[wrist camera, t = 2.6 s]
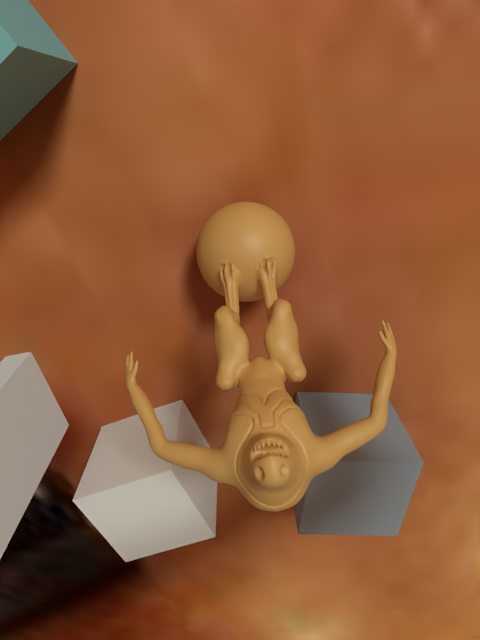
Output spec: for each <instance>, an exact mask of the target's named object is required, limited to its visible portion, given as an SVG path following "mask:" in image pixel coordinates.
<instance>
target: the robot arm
mask: <svg viewBox="0 0 480 640" xmlns="http://www.w3.org/2000/svg"><path fill="white" fill-rule="evenodd" d="M68 426H69V424H68V422H67V420H66V418H65V416H64V414H63V413H62V411H61V409H60V407H59V405H58V403H57V401H56V399H55V397H54V395H53V393H52V391H51V390H50V388H49V386H48V384H47V382H46V380H45V378H44V376H43V374H42V372H41V370H40V368H39V366H38V365H37V363H36V361H35V359H34V357H33V355H32V353H31V352H27V353H22V354H17V355H11V356H6V357H5V358H4V359H3V360H2V361H1V362H0V559H1V557H2V555H3V553H4V551H5V549H6V547H7V545H8V543H9V541H10V539H11V537H12V535H13V533H14V532H15V530H16V528H17V526H18V524H19V522H20V520H21V518H22V516H23V514H24V512H25V510H26V508H27V506H28V504H29V502H30V500H31V498H32V496H33V494H34V493H35V491H36V489H37V487H38V485H39V483H40V481H41V479H42V477H43V475H44V473H45V471H46V469H47V467H48V465H49V463H50V461H51V459H52V457H53V456H54V454H55V452H56V450H57V448H58V446H59V444H60V442H61V440H62V438H63V436H64V434H65V432H66V430H67V428H68Z"/></svg>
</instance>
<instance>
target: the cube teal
mask: <svg viewBox="0 0 480 640" xmlns="http://www.w3.org/2000/svg"><path fill="white" fill-rule="evenodd" d="M77 64H78V63H77V62H76V60H75V59H74V58H73V57H72V55H71V54H70V53H69V52H68V50H67V49H66V48H65V47H64V45H63V44H62V43H61V41H60V40H59V39H58V38H57V36H56V35H55V34H54V33H53V31H52V30H51V29H50V28H49V26H48V25H47V24H46V22H45V21H44V20H43V19H42V17H41V16H40V15H39V14H38V12H37V11H36V10H35V8H34V7H33V6H32V5H31V3H30V2H29V1H28V0H0V140H1V139H2V138H3V137H4V136H5V135H6V134H7V133H8V132H9V131H11V130H12V129H13V128H14V127H15V126H16V125H17V124H18V123H19V122H20V121H21V120H22V119H23V118H24V117H25V116H26V115H27V114H28V113H29V112H30V111H31V110H32V109H33V108H34V107H35V106H36V105H37V104H38V103H39V102H40V101H41V100H42V99H43V98H44V97H45V96H46V95H47V94H48V93H49V92H50V91H51V90H52V89H53V88H54V87H55V86H56V85H57V84H58V83H59V82H60V81H61V80H62V79H63V78H64V77H65V76H66V75H67V74H68V73H69V72H70V71H71V70H72V69H73V68H74V67H75V66H76V65H77Z"/></svg>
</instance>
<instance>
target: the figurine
mask: <svg viewBox="0 0 480 640" xmlns="http://www.w3.org/2000/svg"><path fill="white" fill-rule="evenodd" d="M196 257H197V263H198V267H199V270H200V272H201V274H202V276H203V278H204V280H205V281H206V282H207V284H208V285H209V286H210V287H211V288H212V289H213V290H214V291H216V292H217V293H218V294H220V295H222V296H223V297H225V302H226V306H221V307H220V308H219V309H218V310H217V311H216V312H215V315H214V320H215V327H214V345H215V350H216V354H217V361H218V367H217V374H216V379H215V383H216V386H217V387H218V388H219V389H220V390H223V391H229V390H231V389H234V388H236V387H240V395H239V399H238V401H237V403H236V406H235V410H234V411H233V413H232V414H231V416H230V419H229V420H228V424H227V430H226V437H225V441H224V443H223V445H222V446H221V447H220V448H208V447H204V446H199V445H194V444H189V443H184V442H177V441H169V440H167V439H166V438H165V435H164V431H163V428H162V426H161V424H160V422H159V421H158V419H157V417H156V415H155V412H154V409H153V407H152V405H151V403H150V401H149V399H148V397H147V396H146V394H145V393H144V392H143V390H142V389H141V388H140V387H139V386H138V385H137V383H136V374H137V370H138V361H136V362H135V365H134V362H133V352H131V353H130V356H129V355H127V357H126V367H125V381H126V387H127V390H128V392H129V394H130V397H131V400H132V404H133V406H134V408H135V410H136V412H137V414H138V415H139V417H140V419H141V421H142V423H143V425H144V427H145V430H146V433H147V437H148V440H149V444H150V447H151V449H152V451H153V452H154V453H155V454H156V455H157V456H158V457H159V458H161V459H163V460H165V461H167V462H169V463H172V464H175V465H178V466H180V467H183V468H187V469H191V470H195V471H198V472H200V473H202V474H204V475H205V476H207V477H208V478H210V479H212V480H213V481H216V482H219V483H223V484H228V485H232V486H234V487H236V488H237V489H238V490H239V491H240V493H241V494H242V495H243V496H244V498H245V499H246V500H247V501H248V502H249V503H250V504H251V505H253V506H254V507H256V508H258V509H261V510H264V511H273V512H277V511H282V510H285V509H288V508H290V507H292V506H294V505H295V504H297V503H298V502H299V501H300V500H301V499H302V497H303V496H304V494H305V492H306V490H307V488H308V486H309V484H310V482H311V480H312V479H313V478H314V477H315V476H317V475H318V474H321V473H323V472H325V471H327V470H329V469H331V468H332V467H333V466H334V465H336V464H337V462H338V461H339V460H340V459H341V458H342V457H344V456H345V455H346V454H348V453H350V452H352V451H354V450H356V449H358V448H359V447H361V446H363V445H364V444H366V443H367V442H369V441H370V440H372V439H373V438H375V437H376V436H377V435H379V434H380V433H381V432H382V431H383V429H384V428H385V426H386V423H387V419H388V399H389V394H390V390H391V386H392V382H393V379H394V374H395V362H396V356H397V350H396V343H395V339H394V336H393V333H392V330H391V327H390V325H389V324H388V323H386V324H385V322H384V321H383V320H382V321H381V323H382V326H383V332H384V335H383V334H382V332H381V331H380V330H379V336H380V339H381V341H382V343H383V344H384V346H385V355H384V357H383V359H382V361H381V363H380V365H379V368H378V371H377V375H376V379H375V386H374V393H373V397H372V399H371V404H370V415H369V416H368V417H367V418H364V419H362V420H359V421H356V422H354V423H351V424H349V425H347V426H345V427H342V428H340V429H338V430H336V431H334V432H332V433H330V434H327V435H325V436H316V435H315V434H314V433H313V432H312V430H311V429H310V427H309V424H308V422H307V419H306V417H305V415H304V413H303V412H302V411H301V409H300V408H299V407H298V406H297V405H296V404H295V403H294V401H293V399H292V398H291V396H290V395H289V394H288V393H287V391H286V388H285V385H284V382H285V381H289V382H301V381H302V380H303V379H304V378H305V376H306V373H307V372H306V368H305V366H304V364H303V362H302V359H301V356H300V353H299V345H298V330H297V326H296V323H295V320H294V317H293V313H292V309H291V305H290V303H289V302H288V301H286V300H284V299H277V292H276V291H277V290H278V289H279V288H280V287H281V286H282V285H283V284H284V283H285V281H286V280H287V278H288V277H289V275H290V273H291V270H292V267H293V264H294V259H295V244H294V239H293V236H292V233H291V231H290V229H289V227H288V225H287V224H286V222H285V221H284V220H283V218H282V217H281V216H280V215H279V214H278V213H276V212H275V211H274V210H272V209H271V208H269V207H267V206H265V205H262V204H259V203H254V202H237V203H233V204H230V205H227V206H225V207H223V208H221V209H219V210H218V211H216V212H215V213H214V214H213V215H212V216H211V217H210V218H209V219H208V220H207V221H206V223H205V224H204V226H203V228H202V229H201V232H200V234H199V237H198V241H197V247H196ZM263 298H264V301H265V307H266V310H267V318H268V321H269V323H268V325H267V326H266V329H265V332H264V344H265V348H266V351H267V353H268V359H265V358H262V357H256V358H254V359H253V360H252V361H249V360H248V356H249V341H248V337H247V335H246V333H245V332H244V330H243V329H242V328H241V327H240V326H239V325H240V316H239V301H240V302H251V301H257V300H260V299H263ZM384 336H385V337H384ZM133 367H134V368H133Z"/></svg>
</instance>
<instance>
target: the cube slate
mask: <svg viewBox="0 0 480 640" xmlns="http://www.w3.org/2000/svg"><path fill="white" fill-rule="evenodd" d="M372 397H373V394H352V393H324V392H296V399H295V404H296V405H297V406H298V407H299V408H300V409H301V411H302V412H303V413H304V415H305V417H306V419H307V422H308V424H309V427H310V429H311V430H312V432H313V433H314V434H315V435H316V436H325V435H327V434H330V433H332V432H334V431H336V430H338V429H340V428H342V427H345V426H347V425H349V424H351V423H354V422H356V421H359V420H362V419H364V418H367V417H368V416H369V415H370V404H371V399H372ZM423 464H424V463H423V461H422V459H421V457H420V455H419V454H418V452H417V450H416V448H415V446H414V444H413V443H412V441H411V439H410V437H409V435H408V433H407V432H406V430H405V428H404V426H403V424H402V422H401V421H400V419H399V417H398V415H397V413H396V411H395V410H394V408H393V406H392V404H391V402H390V400H389V399H388V419H387V423H386V426H385V428H384V429H383V431H382V432H381V433H380V434H379V435H377V436H376V437H375V438H373V439H372V440H370V441H369V442H367V443H366V444H364V445H363V446H361V447H359V448H358V449H356V450H354V451H352V452H350V453H348V454H346V455H345V456H344V457H342V458H341V459H340V460H339V461H338V462H337V464H336V465H334V466H333V467H332V468H331V469H329V470H327V471H325V472H323V473H321V474H318V475H317V476H315V477H314V478H313V479H312V480H311V482H310V484H309V486H308V488H307V490H306V492H305V494H304V496H303V497H302V499H301V500H300V501H299V502H298V503H297V504H295V505H294V510H295V516H296V522H297V528H298V534H327V535H378V536H397V535H398V532H399V530H400V527H401V524H402V521H403V519H404V516H405V513H406V510H407V508H408V505H409V502H410V499H411V497H412V494H413V491H414V489H415V486H416V483H417V480H418V478H419V475H420V472H421V469H422V467H423Z"/></svg>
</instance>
